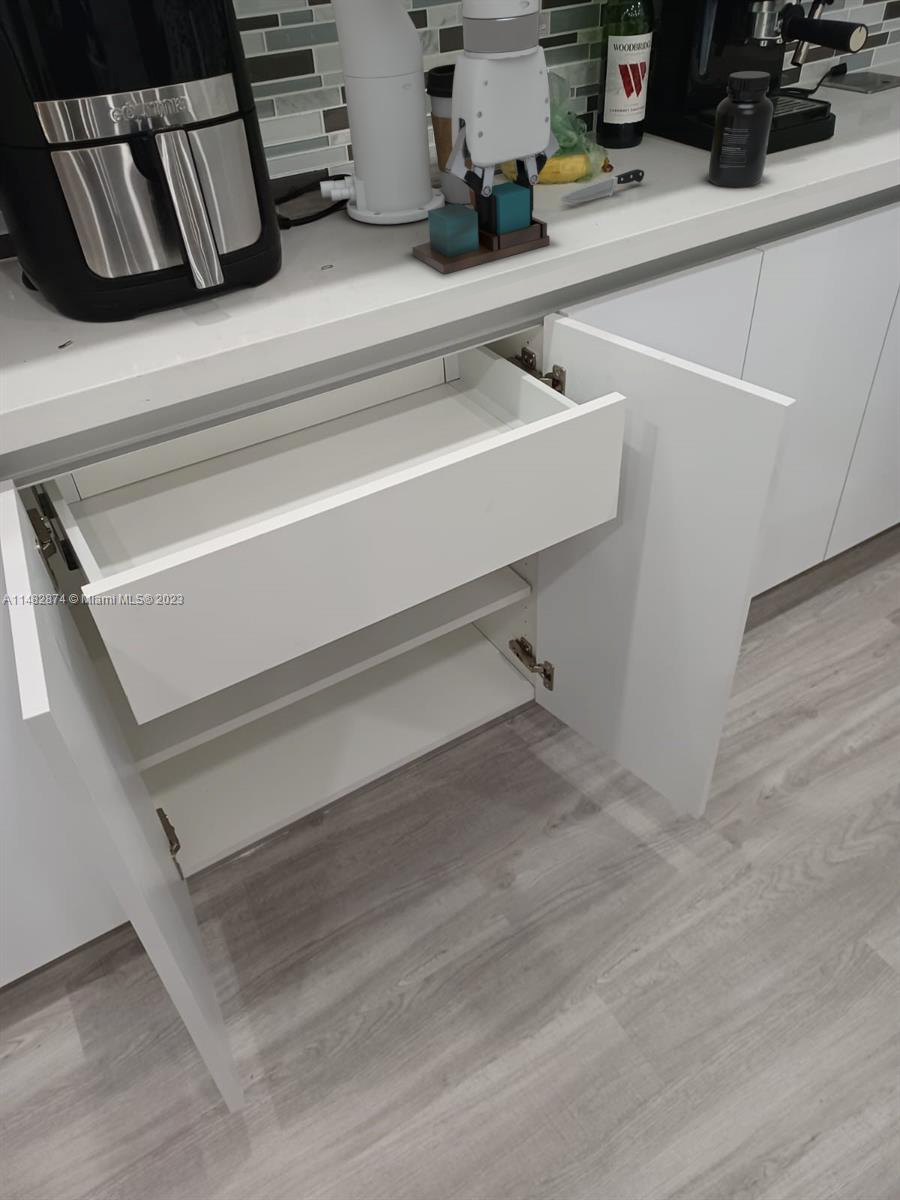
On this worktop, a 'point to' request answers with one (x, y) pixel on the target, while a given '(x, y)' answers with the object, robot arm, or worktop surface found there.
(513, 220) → the teal cube
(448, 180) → the coffee cup
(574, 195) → the knife
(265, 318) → the worktop surface
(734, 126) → the supplement bottle
